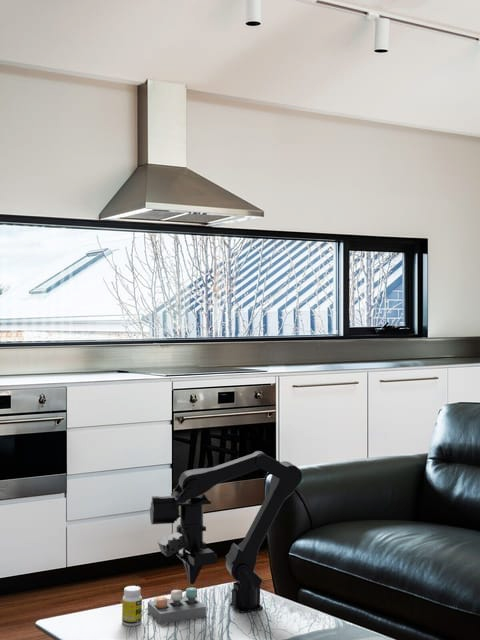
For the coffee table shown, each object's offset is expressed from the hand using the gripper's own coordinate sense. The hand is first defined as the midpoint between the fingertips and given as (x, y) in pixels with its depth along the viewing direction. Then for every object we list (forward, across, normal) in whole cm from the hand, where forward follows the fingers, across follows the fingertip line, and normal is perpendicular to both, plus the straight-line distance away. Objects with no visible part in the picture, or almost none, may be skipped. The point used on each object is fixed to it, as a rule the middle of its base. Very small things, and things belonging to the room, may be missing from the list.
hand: (191, 583), depth 216 cm
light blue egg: (+5, 0, 0) cm, 5 cm away
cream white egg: (+5, 0, -4) cm, 7 cm away
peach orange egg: (+7, 0, -8) cm, 10 cm away
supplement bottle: (+7, +1, -16) cm, 18 cm away
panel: (+7, 0, -4) cm, 8 cm away
